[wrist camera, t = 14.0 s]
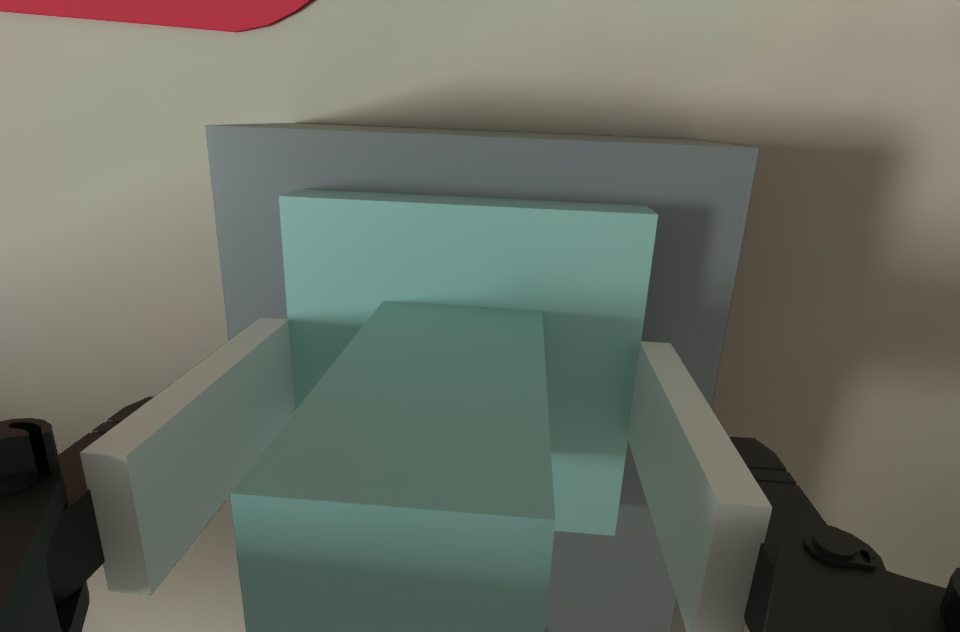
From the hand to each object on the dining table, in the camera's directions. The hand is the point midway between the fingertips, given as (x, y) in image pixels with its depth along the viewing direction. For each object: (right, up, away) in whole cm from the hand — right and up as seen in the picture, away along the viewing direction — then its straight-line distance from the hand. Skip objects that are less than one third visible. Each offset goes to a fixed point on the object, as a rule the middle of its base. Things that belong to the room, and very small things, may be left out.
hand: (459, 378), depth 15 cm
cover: (0, 0, +1) cm, 1 cm away
